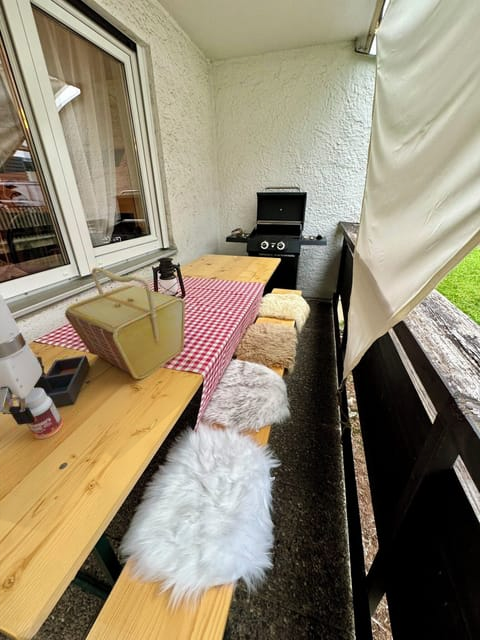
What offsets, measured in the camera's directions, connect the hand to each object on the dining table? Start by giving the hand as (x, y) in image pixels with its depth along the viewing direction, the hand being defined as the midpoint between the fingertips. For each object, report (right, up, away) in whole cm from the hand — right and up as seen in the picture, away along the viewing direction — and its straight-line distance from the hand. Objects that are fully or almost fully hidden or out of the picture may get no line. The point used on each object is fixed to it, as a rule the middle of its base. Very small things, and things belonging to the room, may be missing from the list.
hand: (36, 406), depth 61 cm
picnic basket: (+12, +8, +31) cm, 34 cm away
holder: (-5, 0, +17) cm, 18 cm away
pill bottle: (0, -7, +4) cm, 8 cm away
